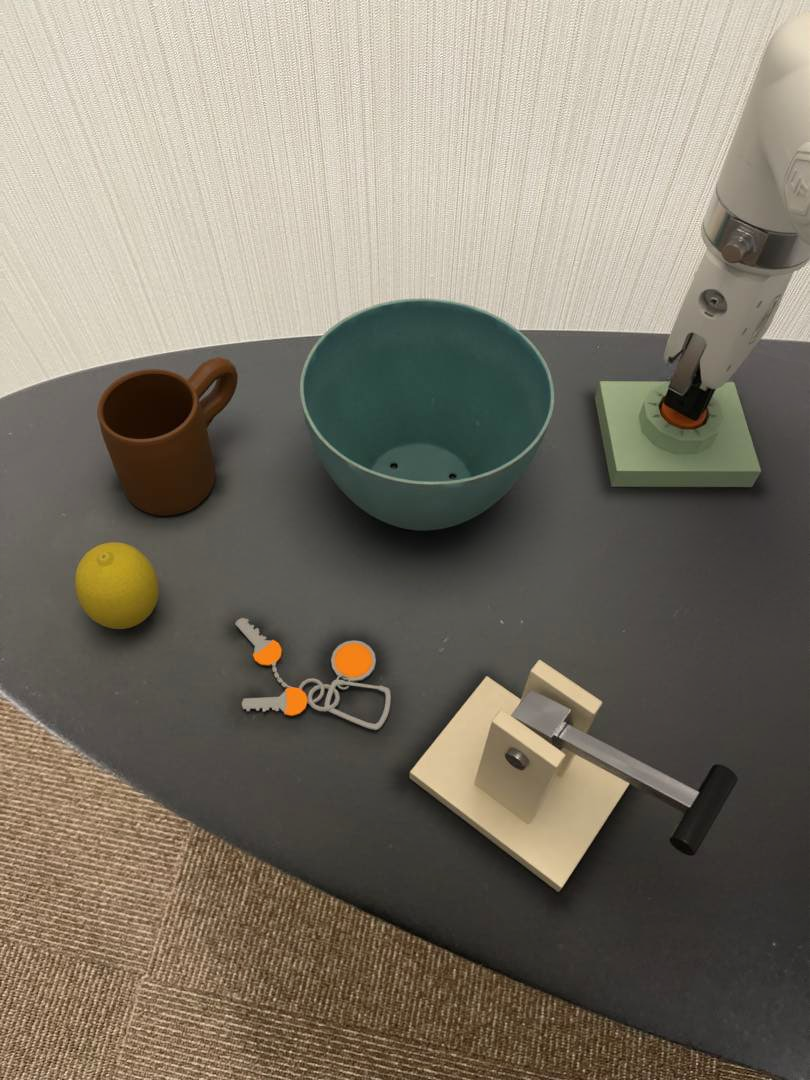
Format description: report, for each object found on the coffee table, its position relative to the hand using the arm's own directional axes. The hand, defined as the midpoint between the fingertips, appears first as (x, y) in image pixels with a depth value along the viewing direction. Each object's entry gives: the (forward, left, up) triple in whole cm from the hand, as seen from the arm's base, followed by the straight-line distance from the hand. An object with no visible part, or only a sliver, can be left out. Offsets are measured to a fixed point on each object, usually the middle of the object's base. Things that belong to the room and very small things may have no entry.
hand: (684, 407), depth 75 cm
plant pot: (+22, +5, -4) cm, 23 cm away
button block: (0, 0, -4) cm, 4 cm away
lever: (+12, +33, +6) cm, 36 cm away
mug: (+41, +3, -4) cm, 41 cm away
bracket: (+16, +30, -4) cm, 34 cm away
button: (0, 0, -2) cm, 2 cm away
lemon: (+44, +17, -4) cm, 47 cm away
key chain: (+31, +22, -4) cm, 38 cm away
